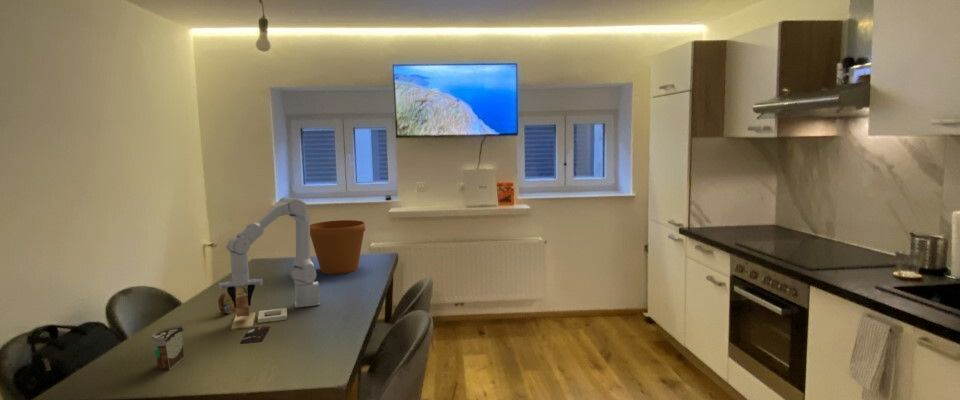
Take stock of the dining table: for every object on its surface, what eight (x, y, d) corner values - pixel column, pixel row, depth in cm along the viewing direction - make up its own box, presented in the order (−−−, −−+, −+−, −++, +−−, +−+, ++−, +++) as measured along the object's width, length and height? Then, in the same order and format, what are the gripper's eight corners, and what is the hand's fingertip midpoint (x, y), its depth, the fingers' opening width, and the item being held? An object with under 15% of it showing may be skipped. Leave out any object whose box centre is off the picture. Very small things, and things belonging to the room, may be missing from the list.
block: (249, 312, 201) (248, 294, 201) (248, 315, 198) (247, 297, 197) (238, 313, 200) (236, 295, 199) (237, 316, 196) (235, 298, 196)
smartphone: (239, 343, 177) (249, 327, 192) (239, 345, 177) (249, 329, 192) (262, 341, 178) (270, 325, 193) (262, 343, 179) (270, 327, 193)
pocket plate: (287, 311, 210) (286, 307, 210) (286, 319, 201) (286, 315, 200) (259, 314, 207) (259, 311, 206) (258, 323, 197) (257, 319, 197)
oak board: (255, 313, 208) (255, 312, 208) (252, 327, 193) (252, 325, 193) (235, 316, 206) (235, 314, 206) (231, 329, 191) (231, 328, 191)
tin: (225, 316, 206) (223, 295, 205) (217, 316, 207) (215, 294, 206) (249, 304, 221) (247, 284, 220) (242, 304, 221) (240, 284, 220)
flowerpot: (378, 268, 278) (375, 223, 275) (329, 279, 258) (326, 230, 255) (347, 260, 297) (345, 218, 294) (300, 270, 277) (297, 225, 274)
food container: (166, 356, 168) (163, 325, 167) (186, 355, 169) (183, 324, 167) (145, 373, 156) (141, 340, 155) (167, 372, 156) (163, 339, 155)
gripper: (216, 274, 191) (219, 311, 193) (260, 270, 196) (263, 306, 197) (219, 270, 198) (222, 305, 199) (261, 266, 202) (264, 301, 204)
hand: (242, 305), depth 199 cm, fingers closed on block, 4 cm apart
